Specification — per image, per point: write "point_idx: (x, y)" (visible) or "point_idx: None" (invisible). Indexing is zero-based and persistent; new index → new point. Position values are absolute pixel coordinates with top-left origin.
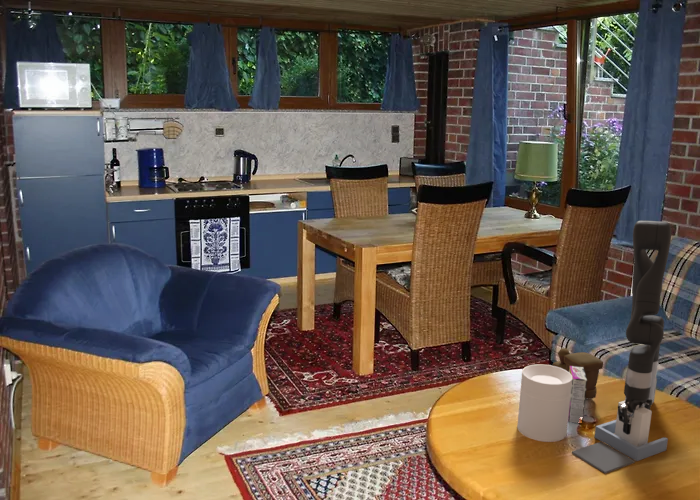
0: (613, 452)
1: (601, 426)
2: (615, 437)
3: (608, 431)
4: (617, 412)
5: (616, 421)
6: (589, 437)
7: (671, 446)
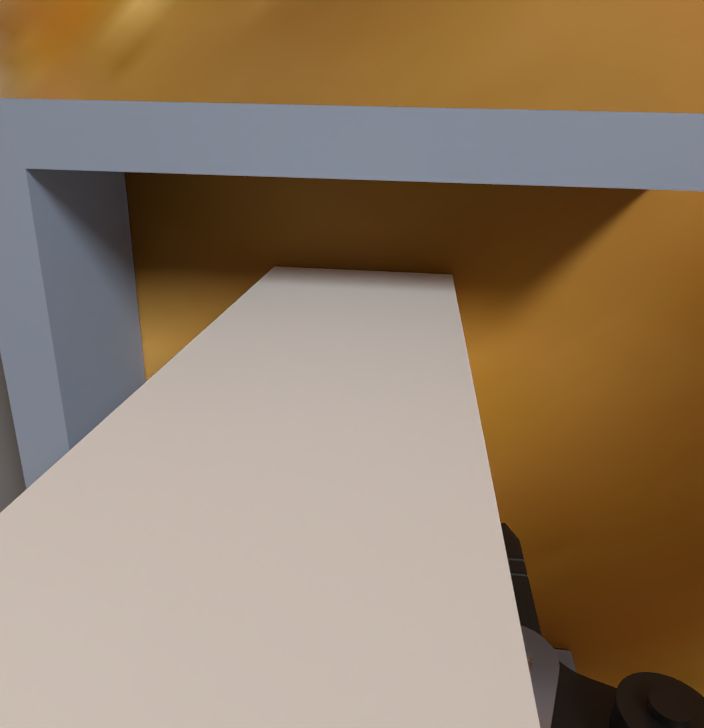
0: (7, 476)
1: (42, 157)
2: (26, 474)
3: (36, 331)
4: (87, 441)
5: (186, 353)
6: (7, 72)
7: (692, 672)
